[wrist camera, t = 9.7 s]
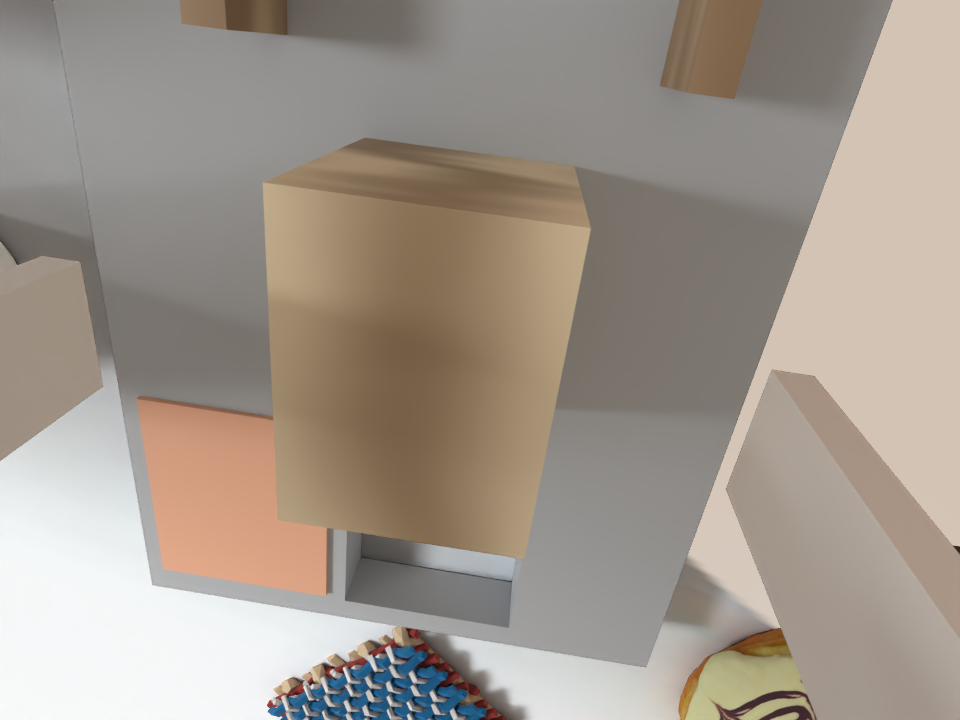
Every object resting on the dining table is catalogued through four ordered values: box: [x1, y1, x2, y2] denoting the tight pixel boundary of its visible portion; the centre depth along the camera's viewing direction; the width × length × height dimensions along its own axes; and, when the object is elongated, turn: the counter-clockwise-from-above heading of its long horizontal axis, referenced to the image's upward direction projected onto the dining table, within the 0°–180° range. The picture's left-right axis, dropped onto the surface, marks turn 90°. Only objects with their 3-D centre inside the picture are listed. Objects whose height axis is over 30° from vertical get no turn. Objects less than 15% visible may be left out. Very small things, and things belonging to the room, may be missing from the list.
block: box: [263, 138, 591, 559], centre depth 16 cm, size 6×8×7 cm
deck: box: [53, 0, 892, 667], centre depth 21 cm, size 22×29×3 cm
